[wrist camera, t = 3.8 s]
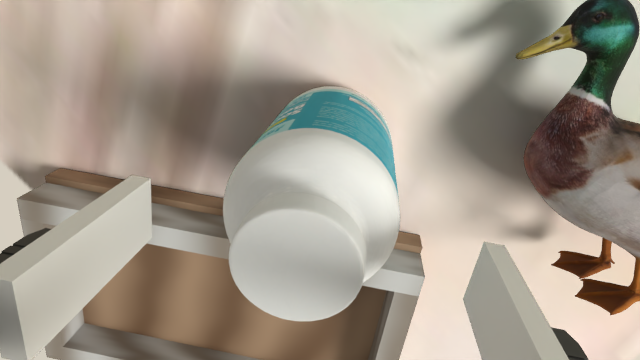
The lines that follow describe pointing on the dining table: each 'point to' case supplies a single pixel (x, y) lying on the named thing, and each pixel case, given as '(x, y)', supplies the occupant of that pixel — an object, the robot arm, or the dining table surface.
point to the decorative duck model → (592, 148)
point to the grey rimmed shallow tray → (211, 291)
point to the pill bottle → (313, 206)
